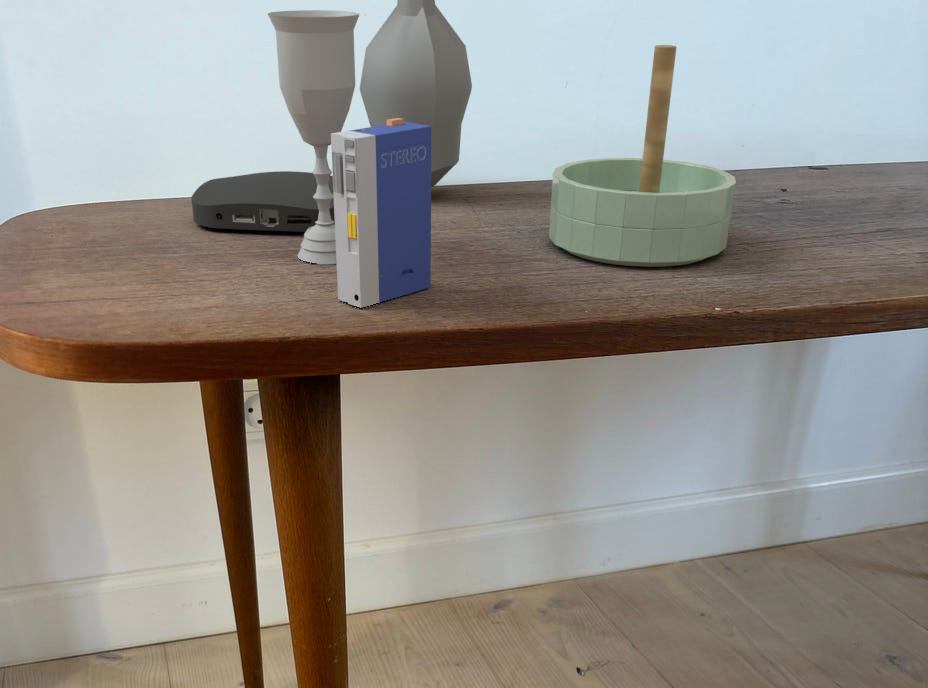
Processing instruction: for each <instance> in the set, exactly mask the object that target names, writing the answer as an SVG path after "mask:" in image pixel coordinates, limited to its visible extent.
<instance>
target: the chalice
mask: <svg viewBox="0 0 928 688" xmlns="http://www.w3.org/2000/svg"><path fill="white" fill-rule="evenodd" d="M267 16H268V18H269V20H270V23H271V24H272V26H273V28H274V30H275V42H276V54H277V55H276V56H277V69H278V82H279V83H278V84H279V88H280V91H281V94H282V97H283V100H284V102H285V105H286V108H287V110H288V113H289V115H290V117H291V120H292V121H293V123H294V126H295V127H296V129H297V131H298V133H299V135H300V137H301V139H302V141H303V142H304V143H306V144H308V145H309V146H312V147H313V148H314V153H315V164H314V169H313V171H312V172H311V173H313V174H314V176H315V177H316V181H317V184H318V185H317V191H316V193H315V194H314V196H313V198H314V199H315V200H316V201H317V205H318V209H319V216H318V221H316V222H315V223H317V224H316V225H315V226H312V227H309V228H308V229H307V231H306V232H304V234H303V239H302V241H301V243H300V247H301V248H300V250H299V252H298V254H297V256H298V258H299V259H301V260H303V261H307V262H310V263H309V264H311V262H312V263H317V264H316V265H337V262H336V239H335V225H334V224H333V223H334V221H332V220H331V216H330V212H329V209H330V203H331V200H332V199H333V197H334V195H333V194H332V193H331V192H330V189H329V186H328V182H329V177H330V176H332V174H333V172H332V169H331V168H330V166H329V161H328V149H329V146H331V133H337V132H342V130H343V128H344V125H345V122H346V120H347V117H348V115H349V113H350V109H351V104H352V100H353V97H354V93H355V88H356V61H355V59H356V58H355V33H354V30H355V28H356V25H357V22H358V20H359V17H360V13H359V12H356V11H349V10H348V11H347V10H327V9H326V10H325V9H322V10H321V9H319V10H318V9H313V10H312V9H307V10H306V9H305V10H304V9H303V10H299V9H298V10H282V11H281V10H279V11H272V12H267ZM297 256H296V257H297ZM299 259H298V260H299ZM303 261H302V262H303Z"/></svg>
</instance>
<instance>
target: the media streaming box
mask: <svg viewBox="0 0 928 688" xmlns="http://www.w3.org/2000/svg"><path fill="white" fill-rule="evenodd" d="M317 185H318V184H317V181H316V177H315V176H314V174H313V173H312V172H307V171H284V170H283V171H264V172H256V173H255V172H254V173H249V174H242V175H234V176H227V177H218V178H213V179H209V180H207V181H205V182H203V183H202V184H201V185H199V186H198V187H197V188H196V190H195V191H194V192H193V194H192V195H191V197H190V200H191V207H192V216H193V222H194V223H195V224H196V225H199V226H202V227H206V228H211V229H221V230H239V231H240V230H242V231H260V232H261V231H262V232H263V231H265V232H289V233H290V232H295V233H296V232H297V233H305V232H306V231H307V229H308V228H309V227H312V226H315V225H316V224H317V223H315V222H316V221H318V216H319V209H318V205H317V201H316V200H315V199H314V198H313V196H314V194H315V193H316V191H317ZM328 186H329V189H330V192H331V193H332V194H333V175H330V177H329V182H328ZM333 195H334V194H333ZM329 212H330V216H331V220H332V221H334V223H333V224H334V225H335V217H334V197H333V199H332V200H331V203H330V209H329Z"/></svg>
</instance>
